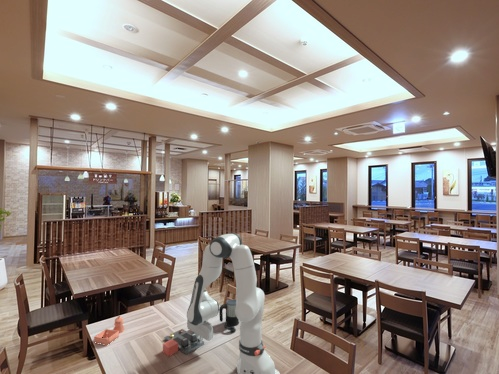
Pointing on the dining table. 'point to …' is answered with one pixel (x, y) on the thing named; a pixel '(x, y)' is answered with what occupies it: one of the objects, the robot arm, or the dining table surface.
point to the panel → (180, 335)
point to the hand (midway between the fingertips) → (199, 341)
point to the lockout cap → (170, 347)
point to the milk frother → (229, 314)
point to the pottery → (110, 332)
